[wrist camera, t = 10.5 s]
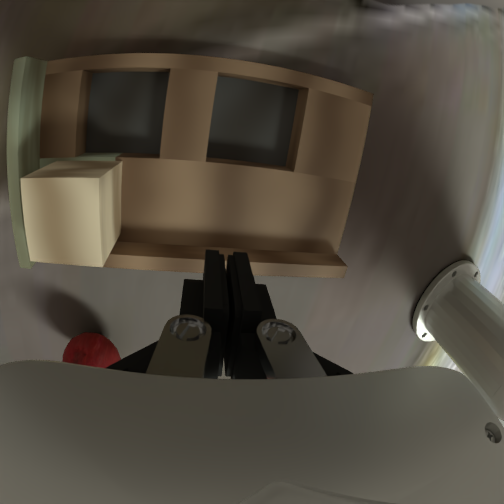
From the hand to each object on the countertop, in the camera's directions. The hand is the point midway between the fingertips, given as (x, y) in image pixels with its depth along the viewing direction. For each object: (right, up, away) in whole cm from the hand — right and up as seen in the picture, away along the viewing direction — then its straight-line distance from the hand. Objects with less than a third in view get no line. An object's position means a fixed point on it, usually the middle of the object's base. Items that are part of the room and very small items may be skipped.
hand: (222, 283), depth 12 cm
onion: (-14, -7, +14) cm, 21 cm away
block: (-10, +5, +6) cm, 13 cm away
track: (-3, +8, +8) cm, 12 cm away
